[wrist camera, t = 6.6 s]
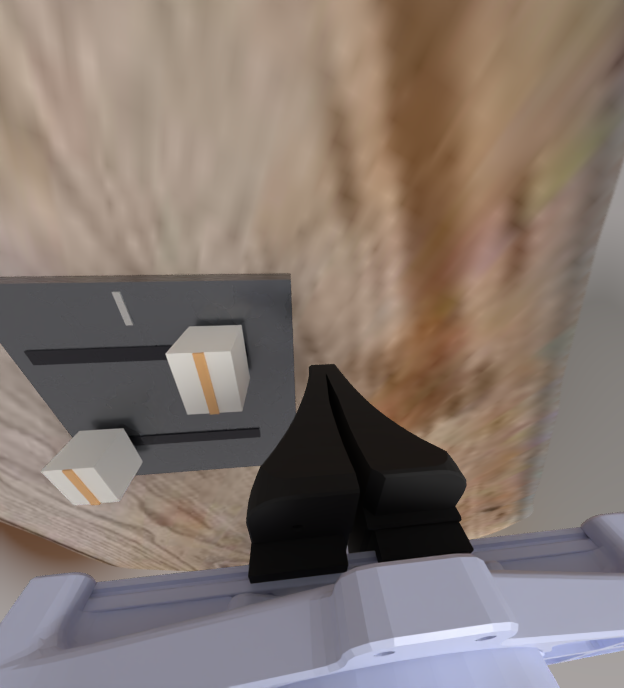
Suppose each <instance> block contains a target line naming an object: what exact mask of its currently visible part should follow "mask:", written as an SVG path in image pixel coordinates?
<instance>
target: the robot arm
mask: <svg viewBox="0 0 624 688" xmlns="http://www.w3.org/2000/svg"><path fill="white" fill-rule="evenodd" d="M465 488H466V479H465V477H464V476H463V474H462V473H461V471H460V470H459V468H458V466H457V465H456V463H455V462H454V461H453V459H452V458H451V457H450V455H449V454H448V453H447V451H445V450H443V449H441V448H439V447H437V446H435V445H433V444H431V443H429V442H427V441H425V440H423V439H421V438H419V437H417V436H416V435H414V434H412V433H411V432H409V431H407V430H406V429H404V428H402V427H401V426H399V425H398V424H396V423H395V422H393V421H392V420H390V419H389V418H388V417H386V416H385V415H384V414H382V413H381V412H380V411H378V410H377V409H376V408H375V407H374V406H372V405H371V404H370V403H369V402H368V401H367V400H366V399H365V398H364V397H363V396H362V395H361V394H360V393H359V392H358V391H357V390H356V389H355V388H354V387H353V386H352V385H351V384H350V383H349V381H348V380H347V379H346V378H345V377H344V376H343V374H342V373H341V372H340V371H339V369H338V368H337V367H336V365H335V364H325V365H311V366H310V367H309V379H308V383H307V387H306V390H305V393H304V396H303V399H302V402H301V404H300V406H299V409H298V411H297V413H296V415H295V417H294V419H293V421H292V423H291V424H290V426H289V428H288V430H287V431H286V433H285V434H284V436H283V437H282V439H281V440H280V442H279V443H278V445H277V446H276V448H275V449H274V450H273V452H272V453H271V454H270V455H269V457H268V458H267V459H266V460H265V461H264V463H263V464H262V465H261V467H260V469H259V471H258V474H257V476H256V479H255V481H254V484H253V487H252V490H251V494H250V498H249V502H248V509H247V517H246V524H247V528H248V531H249V535H250V538H251V542H252V544H251V553H250V562H249V565H243V566H235V567H226V568H217V569H208V570H200V571H191V572H182V573H173V574H165V575H156V576H148V577H138V578H130V579H121V580H112V581H104V582H96V581H95V580H94V578H93V577H92V576H90V575H88V574H86V573H80V572H72V573H63V574H54V575H45V576H36V577H35V578H33V579H31V580H30V581H29V583H28V585H27V586H26V587H25V589H24V590H23V592H22V593H21V594H20V596H19V597H18V599H17V600H16V602H15V603H14V605H13V606H12V607H11V609H10V610H9V612H8V613H7V614H6V616H5V618H4V619H3V620H2V622H1V623H0V688H560V687H559V685H558V683H557V682H556V680H555V678H554V677H553V675H552V673H551V671H550V669H549V668H548V666H547V665H550V664H556V663H561V662H565V661H571V660H576V659H581V658H587V657H592V656H597V655H602V654H608V653H613V652H618V651H624V512H617V513H608V514H600V515H596V516H593V517H591V518H589V519H587V520H586V521H585V522H583V523H582V524H581V527H576V528H567V529H560V530H550V531H542V532H533V533H524V534H516V535H506V536H497V537H489V538H480V539H471V540H469V539H468V538H467V536H466V534H465V532H464V530H463V528H462V527H461V525H460V523H459V522H460V521H461V516H460V514H459V512H458V510H457V509H456V507H455V506H456V504H457V503H458V501H459V499H460V498H461V496H462V495H463V493H464V491H465Z"/></svg>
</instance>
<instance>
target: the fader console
mask: <svg viewBox="0 0 624 688" xmlns="http://www.w3.org/2000/svg"><path fill="white" fill-rule="evenodd" d="M222 325H242V331H243V337H244V344H245V350H246V356H247V363H248V369H249V375H250V381H249V385H248V389H247V394H246V398H245V402H244V407H243V411H241V412H224V413H219V414H213V415H210V413H207V414H190V415H187V412H186V409H185V407H184V404H183V401H182V398H181V396H180V393H179V390H178V387H177V385H176V382H175V379H174V376H173V374H172V371H171V368H170V365H169V363H168V360H167V357H166V352H167V351H168V350H169V349H170V348H171V347H172V346H173V344H174V343H175V342H176V341H177V340H178V339H179V337H180V336H181V335H182V334H183V333H184V332H185V331H186V329H187V328H188V327H189V326H222ZM0 343H1V344H2V346H3V347H4V348H5V350H6V351H7V352H8V354H9V355H10V356H11V358H12V359H13V360H14V361H15V363H16V364H17V365H18V367H19V368H20V369H21V371H22V372H23V373H24V375H25V376H26V377H27V379H28V380H29V381H30V382H31V384H32V385H33V386H34V388H35V389H36V390H37V392H38V393H39V394H40V396H41V397H42V398H43V400H44V401H45V402H46V403H47V405H48V406H49V407H50V409H51V410H52V411H53V413H54V414H55V415H56V417H57V418H58V419H59V421H60V422H61V423H62V424H63V426H64V427H65V428H66V430H67V431H68V432H69V434H70V435H71V436H72V438H73V437H74V436H75V435H76V434H77V433H78V432H79V431H86V430H102V429H118V428H124V430H125V432H126V434H127V435H128V437H129V439H130V440H131V442H132V444H133V446H134V447H135V449H136V451H137V452H138V454H139V456H140V458H141V459H142V461H143V462H142V464H141V466H140V468H139V469H138V471H137V473H136V474H135V475H146V474H159V473H171V472H184V471H197V470H210V469H222V468H235V467H248V466H261V465H262V464H263V463H264V461H265V460H266V459H267V458H268V457H269V455H270V454H271V453H272V452H273V450H274V449H275V448H276V446H277V445H278V443H279V442H280V440H281V439H282V437H283V436H284V434H285V433H286V431H287V430H288V428H289V426H290V424H291V423H292V421H293V419H294V417H295V415H296V409H295V383H294V356H293V330H292V303H291V277H290V274H215V275H134V276H52V277H0Z"/></svg>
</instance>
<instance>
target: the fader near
mask: <svg viewBox="0 0 624 688" xmlns="http://www.w3.org/2000/svg"><path fill="white" fill-rule="evenodd" d="M166 357H167V360H168V363H169V365H170V368H171V371H172V374H173V376H174V379H175V382H176V385H177V387H178V390H179V393H180V396H181V398H182V401H183V404H184V407H185V409H186V412H187V415H190V414H207V413H210V415H213V414H219V413H224V412H241V411H243V407H244V402H245V398H246V394H247V389H248V385H249V381H250V375H249V369H248V363H247V356H246V350H245V344H244V337H243V331H242V325H222V326H189V327H188V328H187V329H186V331H185V332H184V333H183V334H182V335H181V336H180V337H179V339H178V340H177V341H176V342H175V343H174V344H173V346H172V347H171V348H170V349H169V350H168V351H167V352H166Z"/></svg>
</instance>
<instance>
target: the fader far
mask: <svg viewBox="0 0 624 688" xmlns="http://www.w3.org/2000/svg"><path fill="white" fill-rule="evenodd" d="M142 462H143V461H142V459H141V458H140V456H139V454H138V452H137V451H136V449H135V447H134V446H133V444H132V442H131V440H130V439H129V437H128V435H127V434H126V432H125V430H124V428H118V429H102V430H86V431H79V432H78V433H77V434H76V435H75V436H74V437H73V438H72V439H71V440H70V441H69V442H68V443H67V444H66V445H65V446H64V447H63V449H62V450H61V451H60V452H59V453H58V454H57V455H56V456H55V457H54V458H53V459H52V460H51V461H50V462H49V463H48V464H47V465H46V466H45V467H44V468H43V469H42V471H41V472H42V473H43V474H44V475H45V476H46V477H47V478H48V479H49V480H50V481H51V483H52V484H53V485H54V486H55V487H56V488H57V489H58V490H59V491H60V492H61V493H62V494H63V495H64V496H65V497H66V498H67V499H68V500H69V501H70V502H71V503H72V504H73V505H85V504H91V505H100V504H101V503H108V502H120V500H121V498H122V497H123V495H124V493H125V492H126V490H127V488H128V486H129V485H130V483H131V481H132V480H133V478H134V476H135V474H136V473H137V471H138V469H139V468H140V466H141V464H142Z"/></svg>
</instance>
